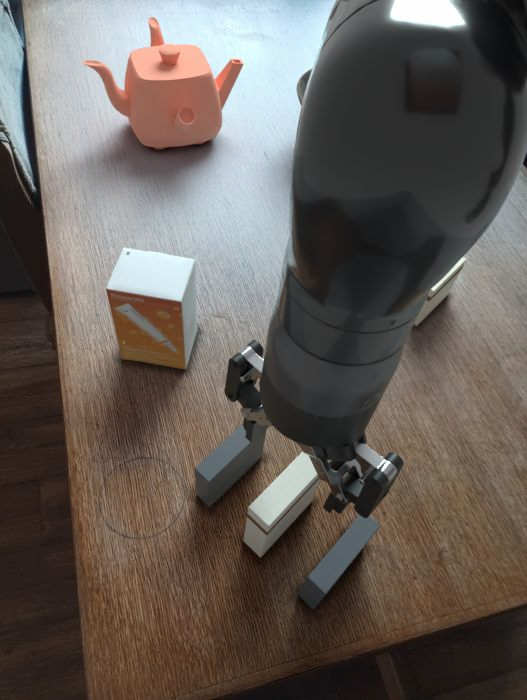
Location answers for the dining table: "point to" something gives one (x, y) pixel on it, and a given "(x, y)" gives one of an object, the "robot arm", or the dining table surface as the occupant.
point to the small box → (154, 307)
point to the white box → (280, 504)
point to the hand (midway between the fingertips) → (293, 466)
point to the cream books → (440, 291)
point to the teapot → (170, 92)
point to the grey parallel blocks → (232, 464)
